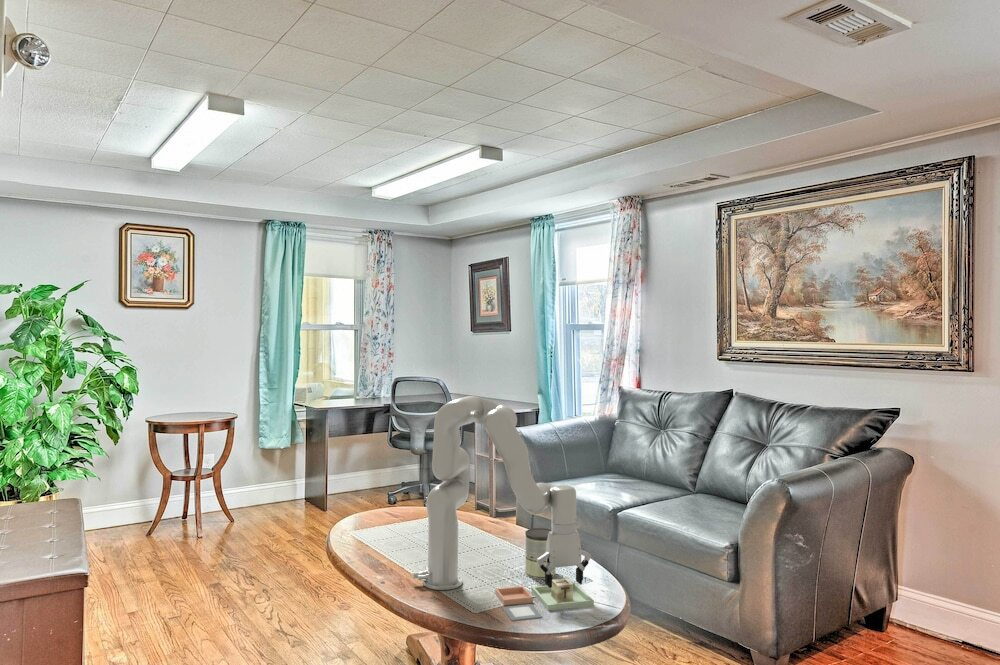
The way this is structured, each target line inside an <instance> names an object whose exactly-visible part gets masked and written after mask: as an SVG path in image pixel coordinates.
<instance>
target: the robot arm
mask: <svg viewBox="0 0 1000 665" xmlns="http://www.w3.org/2000/svg"><path fill="white" fill-rule="evenodd" d="M473 423H475V424H479V425H481V426H483V427H484V430H485V431H486V434H487V435H488V437H489V438H490V440H491V442H492V444H493V446H494V447H495V449H496V451H497V453H498V455H499V457H500V458H501V460H502V462H503V464H504V468H505V472H506V476H507V479H508V482H509V485H510V487H511V489H512V492H513V493H514V496H515V497H516V499H517V501H518V502H519V504H520V506H521V507H522V509H524V510H525V511H526V512H527V513H529V514H532V515H538V514H540V513H542V512H543V511H544V510H545V509H547V508H549V507H550V513H551V515H550V516H551V522H550V523H551V524H550V525H551V526H550V527H551V531H549V533H548V538H547V546H546V553H545V554H543V555H542V556H540V557H539V558H537V559H536V561H537V563H538V565H539V567H540V568H541V569H542V570H543V571H544V572H545V578H544V583H545V586H548V587H549V588H551V587H552V580H553V577H552V574H551V572H552V570H553V569H554V568H555V569H556V568H564V567H575V566H576V568H575V581H576V582H577V584H579V585H582V584H583V580H584V571H585V569H586V568H587V566H588V565H589V562H590V560H591V558H592V554H590V552H587V551H585V550H582V547H581V545H582V544H581V539H580V534H579V531H578V528H581V525H582V524H581V522H578V521H577V491H576V488H574V487H573V486H571V485H564V484H563V485H562V484H561V485H556V484H552V483H548V482H547V483H546V482H536V481H535V479H534V477H533V475H532V472H531V470H530V466H529V465H530V464H529V449H528V447H527V445H526V443H525V442H524V439H523V438H522V437H521V435H520V433H519V430H518V429H517V427H516V426H517V424H518V416H517V414H516V412H515V411H514V409H513V408H511V407H509V406H506V405H504V404H501V403H498V402H496V401H492V400H489V399H487V398H484V397H480V396H477V395H470V396H469V395H468V396H464V397H460V398H456V399H453V400H451V401H449V402H446V403H445V404H443V405H442V406H441V407H440V408H439V409H438V410H437V412H436V415H435V418H434V420H433V443H432V460H431V470H432V473H433V476H434V477H435V478H436V479H438V480H439V481H441V483H440V484H437V485H435V486H434V487H433V488H432V489H431V490H430V491H429V493H428V495H427V497H426V511H427V519H428V520H427V521H428V527H427V528H428V531H427V534H428V541H427V542H428V545H427V547H428V548H427V550H428V551H427V566H426V567H425V569H423V570H422V571H413V572H412V578H413V579H417V580H418V581H422V585H423V586H424V587H425V588H427V589H430V590H436V591H448V590H454V589H457V588H459V587H460V586H462V584H463V577H461V576H460V575H458V574H459V570H458V569H459V520H458V514H457V510H458V509H459V508H460V507H462V506H464V504H465V503H466V502H467V500H468V498H469V493H470V490H469V489H470V477H471V476H470V473H471V459H470V456H469V453H468V452H467V451H466V449H464V448H463V447H461V432H460V428H461V427H462V426H466V425H470V424H473ZM582 556H583V557H584V558H583V560H582ZM544 560H546V562H547V565H546V566H544V565H543V561H544Z"/></svg>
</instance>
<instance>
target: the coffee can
mask: <svg viewBox="0 0 1000 665" xmlns="http://www.w3.org/2000/svg"><path fill="white" fill-rule="evenodd" d="M549 531H551V529H550V528H544V527H534V528H530V529H526V530H525V553H524V554H525V557H524V559H525V560H524V562H525V564H524V566H525V570H524V571H525V572H524V575H525V576H526V577H530V578H535V579H539V580H540V579H544V580H545V572H544V571H543V570H542V569H541V568H540V567H539V565H538V563H537V561H536V559H537V558H539V557H540V556H542V555H543V554H545V553H546V546H547V538H548V533H549ZM543 565H544V566H546V565H547V562H546V560H544V561H543ZM551 574H552V578H553V577H555V575H556V568H554V569H553V570H552V572H551Z"/></svg>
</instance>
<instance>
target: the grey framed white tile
mask: <svg viewBox="0 0 1000 665" xmlns="http://www.w3.org/2000/svg"><path fill="white" fill-rule="evenodd" d="M502 610H503V611H504V613H505V614H506V616H507V617H508V618H509V619H510V620H511V622H515V621H516V622H517V621H524V620H526V621H527V620H533V619H542V618H543V616H542V614H541V613H540V611H538V610H537V608H536V607H535V606H534V605H533V603H529V604H528V603H527V604H517V605H512V606H511V605H508V606H502Z"/></svg>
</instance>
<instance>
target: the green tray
mask: <svg viewBox="0 0 1000 665" xmlns="http://www.w3.org/2000/svg"><path fill="white" fill-rule="evenodd" d="M571 583H572V584H573V601H567V602H556V601H555V600H554V599H553V598H552V596H551V588H549V587H548V586H547V585H538V586H531V590H530V591H531V593H532V594H533V595H534V596H535V598H536V599H537V600H538V601H539V602H540V604H541V605H542V606H544V608H545V609H546V610H547V611H556V610H564V609H565V610H566V609H575V608H585V607H592V606H594V605H595V600H594V599H593V598H592V597H591V596H590V595H588V593H586V592H585V591H584V590H583V589H582V588H581V587H580V586H579V585H578V583H576V582H571Z"/></svg>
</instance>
